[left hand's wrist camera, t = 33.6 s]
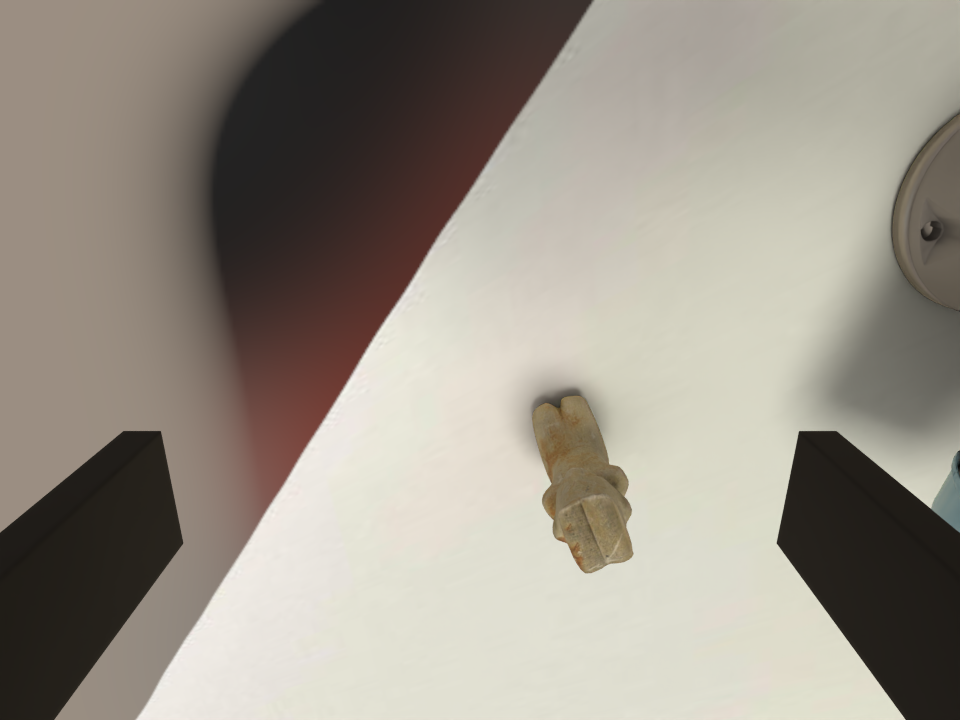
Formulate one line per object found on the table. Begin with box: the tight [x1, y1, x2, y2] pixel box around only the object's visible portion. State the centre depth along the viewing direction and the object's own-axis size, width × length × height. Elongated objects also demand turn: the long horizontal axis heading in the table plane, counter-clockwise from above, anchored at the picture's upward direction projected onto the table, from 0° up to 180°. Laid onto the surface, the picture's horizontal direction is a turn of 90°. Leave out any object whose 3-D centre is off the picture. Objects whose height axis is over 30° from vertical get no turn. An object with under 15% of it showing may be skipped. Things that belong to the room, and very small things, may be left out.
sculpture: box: [532, 396, 633, 573], centre depth 42 cm, size 6×7×15 cm
